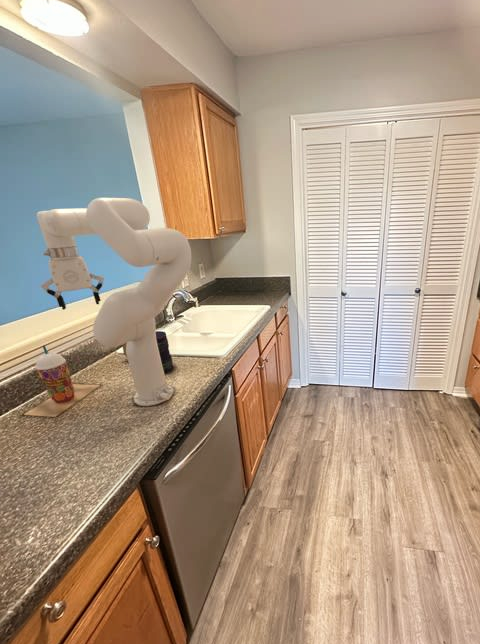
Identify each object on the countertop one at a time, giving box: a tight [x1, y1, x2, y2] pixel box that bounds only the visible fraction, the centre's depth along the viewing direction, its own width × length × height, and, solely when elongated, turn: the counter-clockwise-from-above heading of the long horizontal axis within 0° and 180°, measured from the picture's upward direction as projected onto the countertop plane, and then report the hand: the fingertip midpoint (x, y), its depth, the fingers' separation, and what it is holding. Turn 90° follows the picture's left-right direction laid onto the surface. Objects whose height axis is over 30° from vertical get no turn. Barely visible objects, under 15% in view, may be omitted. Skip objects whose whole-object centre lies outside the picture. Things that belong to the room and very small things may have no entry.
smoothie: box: [34, 345, 75, 403], centre depth 108 cm, size 8×8×20 cm
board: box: [23, 383, 101, 418], centre depth 112 cm, size 20×12×1 cm, turn 171°
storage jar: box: [156, 330, 174, 375], centre depth 127 cm, size 10×10×15 cm
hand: (81, 306), depth 108 cm, fingers open, 9 cm apart
